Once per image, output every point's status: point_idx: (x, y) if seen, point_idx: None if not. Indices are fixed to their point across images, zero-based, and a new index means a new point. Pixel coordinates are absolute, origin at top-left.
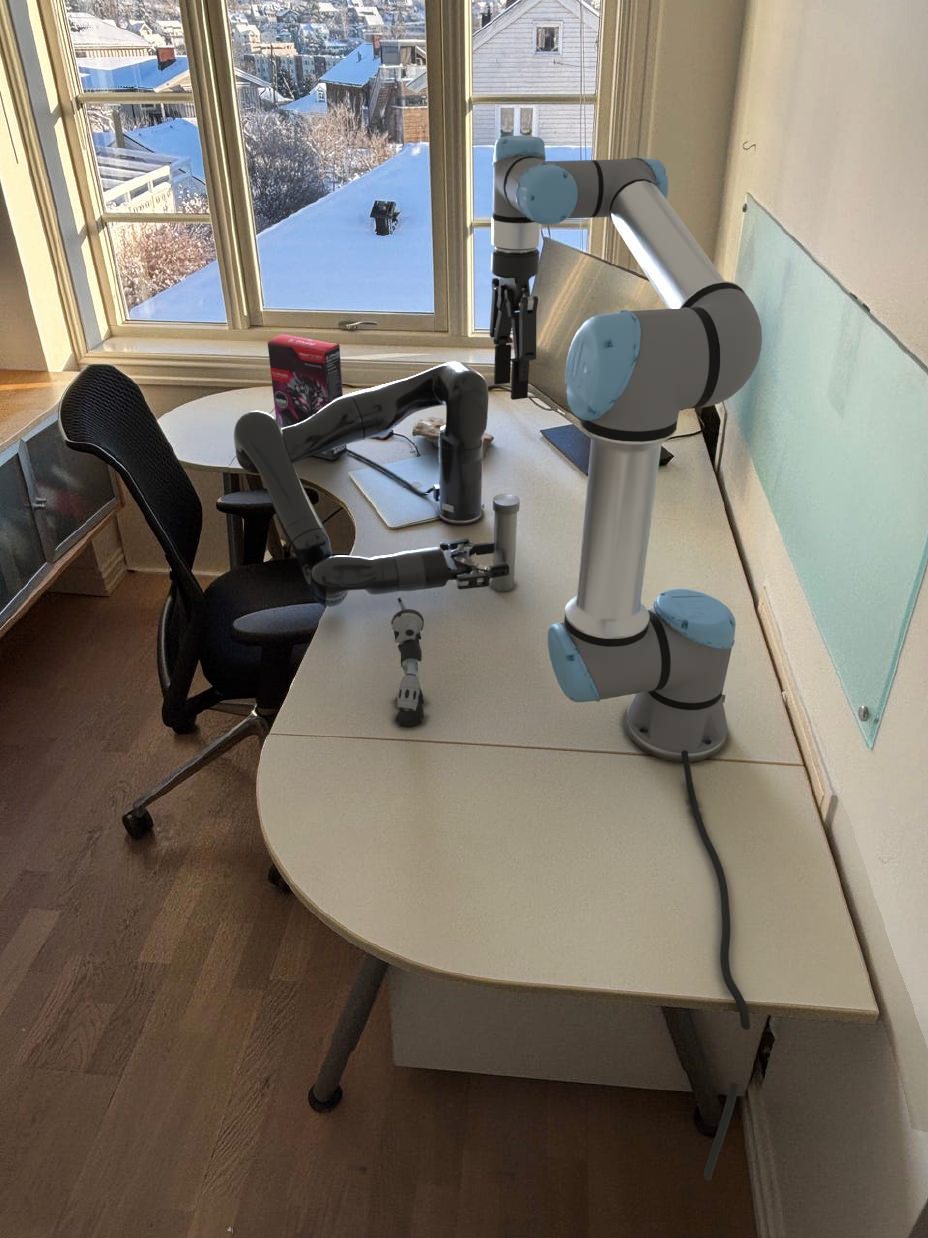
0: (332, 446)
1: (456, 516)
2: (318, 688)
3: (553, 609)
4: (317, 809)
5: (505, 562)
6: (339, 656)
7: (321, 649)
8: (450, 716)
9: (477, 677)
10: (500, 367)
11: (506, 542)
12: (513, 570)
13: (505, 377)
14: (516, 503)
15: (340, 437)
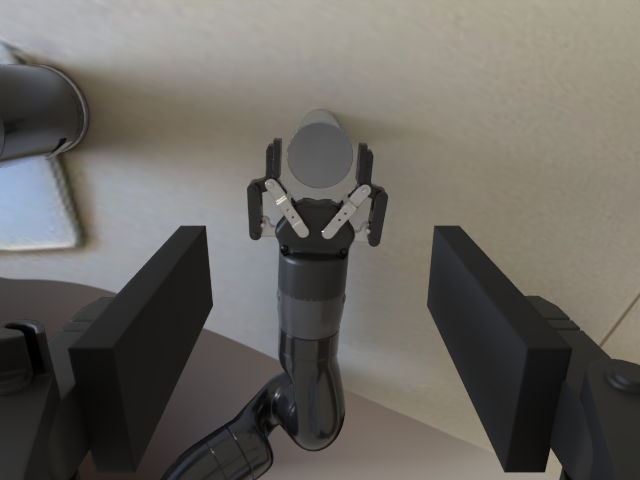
0: None
1: (77, 133)
2: (457, 418)
3: (419, 73)
4: None
5: None
6: (406, 387)
7: (384, 402)
8: (579, 306)
9: (526, 251)
10: (183, 331)
11: None
12: (335, 119)
13: (199, 267)
14: (348, 140)
15: None
